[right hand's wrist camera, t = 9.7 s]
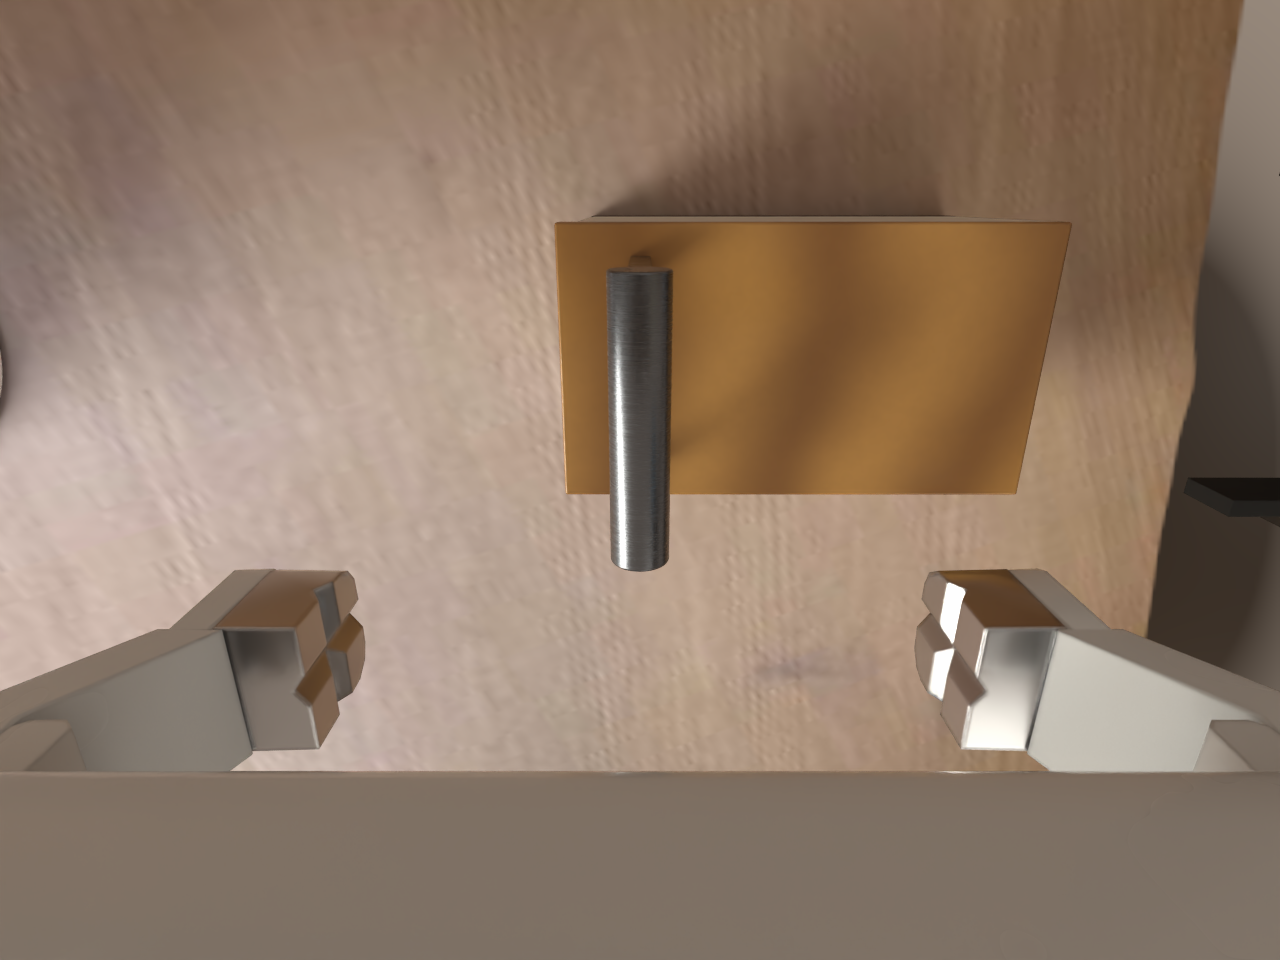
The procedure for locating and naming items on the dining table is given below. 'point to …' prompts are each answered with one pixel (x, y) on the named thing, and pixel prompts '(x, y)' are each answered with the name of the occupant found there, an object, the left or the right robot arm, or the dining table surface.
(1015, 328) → the lid
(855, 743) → the dining table surface
